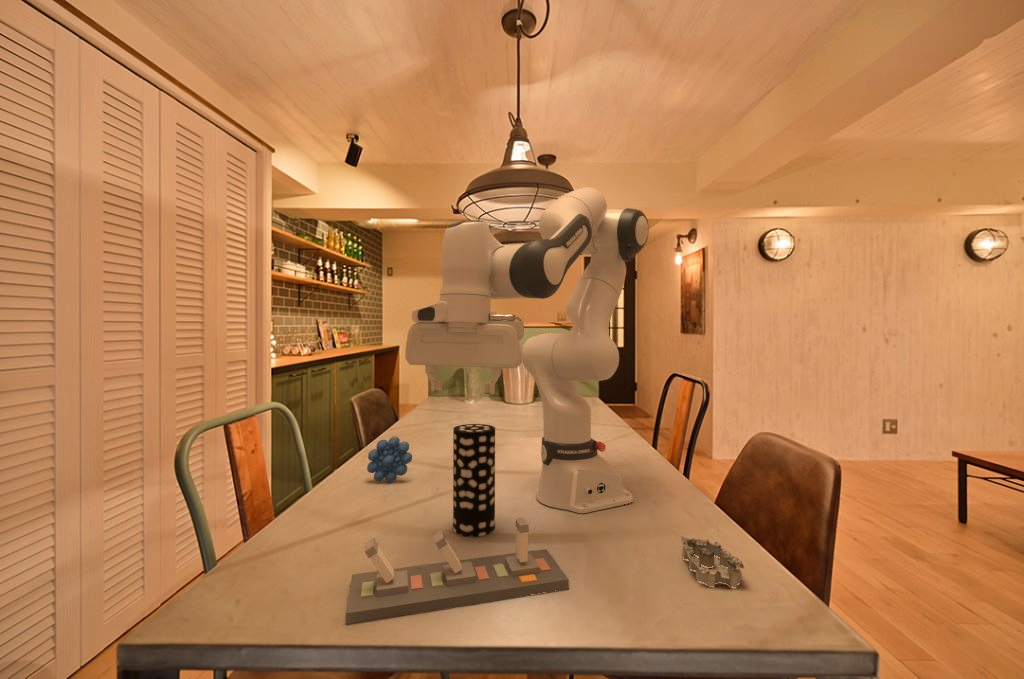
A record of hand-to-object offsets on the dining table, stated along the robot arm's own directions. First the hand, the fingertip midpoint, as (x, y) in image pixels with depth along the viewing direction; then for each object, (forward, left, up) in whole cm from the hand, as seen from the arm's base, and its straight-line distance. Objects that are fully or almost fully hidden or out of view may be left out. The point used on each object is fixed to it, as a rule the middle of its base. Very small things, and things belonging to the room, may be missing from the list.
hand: (462, 392), depth 78 cm
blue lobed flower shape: (+12, -44, -29) cm, 54 cm away
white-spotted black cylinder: (-4, -11, -29) cm, 31 cm away
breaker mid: (+2, +9, -26) cm, 28 cm away
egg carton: (-39, +15, -29) cm, 51 cm away
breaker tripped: (-8, +9, -26) cm, 29 cm away
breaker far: (+12, +9, -26) cm, 30 cm away
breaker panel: (+2, +9, -29) cm, 30 cm away
